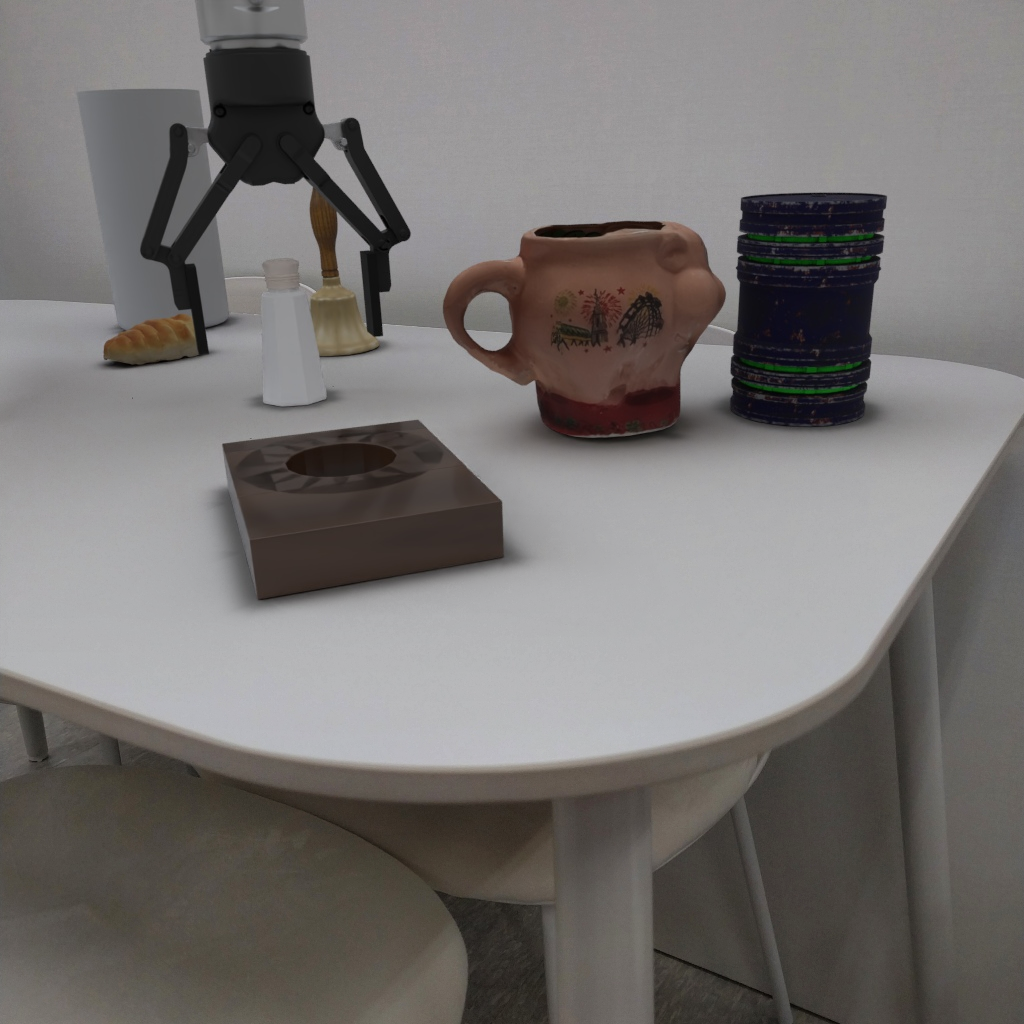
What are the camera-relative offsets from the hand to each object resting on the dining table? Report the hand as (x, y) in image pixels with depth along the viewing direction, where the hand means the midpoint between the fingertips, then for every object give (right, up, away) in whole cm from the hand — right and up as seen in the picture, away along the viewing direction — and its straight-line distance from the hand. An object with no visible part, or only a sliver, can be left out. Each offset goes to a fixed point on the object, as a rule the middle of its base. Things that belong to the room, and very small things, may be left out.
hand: (291, 342), depth 77 cm
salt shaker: (0, -4, +2) cm, 5 cm away
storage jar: (+39, -6, -5) cm, 40 cm away
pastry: (-17, +2, +19) cm, 26 cm away
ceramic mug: (+23, -8, -8) cm, 26 cm away
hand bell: (0, +3, +21) cm, 21 cm away
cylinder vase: (-22, +8, +36) cm, 43 cm away
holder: (+9, -14, -24) cm, 29 cm away
